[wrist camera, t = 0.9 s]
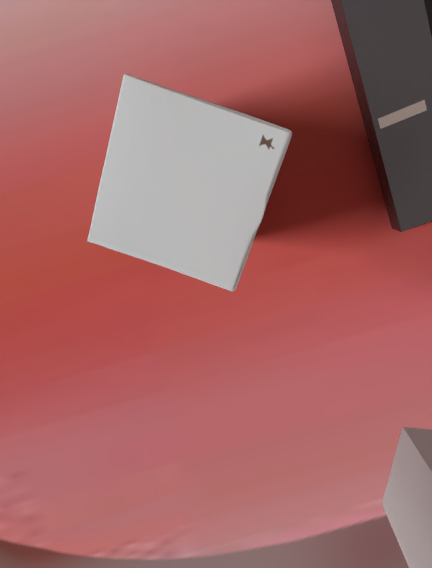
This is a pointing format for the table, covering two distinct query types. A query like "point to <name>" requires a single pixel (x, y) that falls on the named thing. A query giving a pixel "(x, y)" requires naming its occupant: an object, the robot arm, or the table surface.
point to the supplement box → (185, 182)
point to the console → (394, 97)
